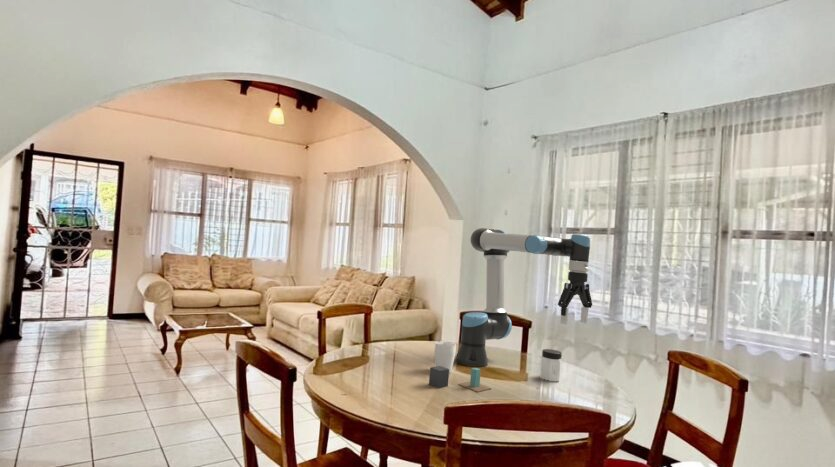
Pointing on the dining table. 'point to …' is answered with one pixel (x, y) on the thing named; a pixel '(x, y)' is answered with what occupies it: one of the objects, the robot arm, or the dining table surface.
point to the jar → (550, 365)
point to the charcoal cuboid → (439, 376)
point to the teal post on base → (475, 381)
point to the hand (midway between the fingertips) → (573, 323)
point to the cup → (445, 354)
